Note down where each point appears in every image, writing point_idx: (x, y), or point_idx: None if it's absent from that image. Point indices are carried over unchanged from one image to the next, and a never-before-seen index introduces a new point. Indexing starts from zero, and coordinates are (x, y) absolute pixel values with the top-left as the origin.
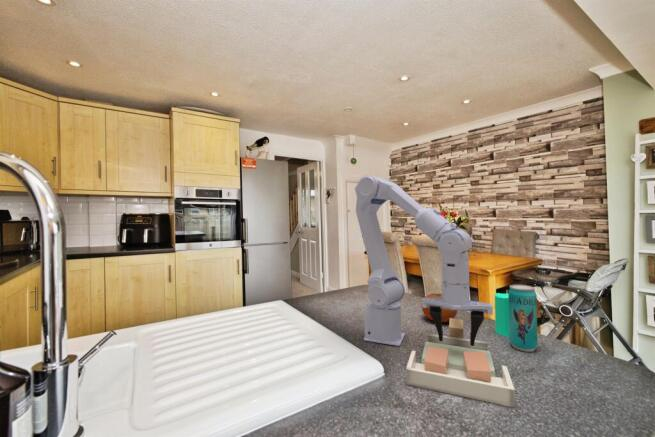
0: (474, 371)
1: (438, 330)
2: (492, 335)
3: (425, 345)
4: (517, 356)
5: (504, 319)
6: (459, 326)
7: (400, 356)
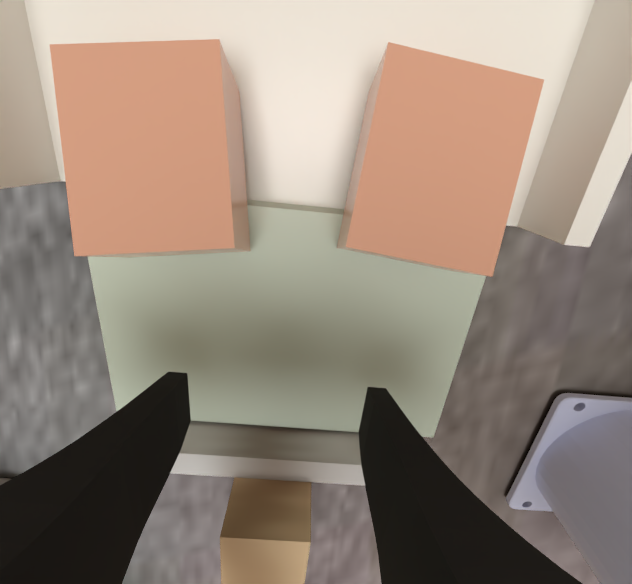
0: (174, 44)
1: (418, 440)
2: (132, 566)
3: (443, 395)
4: (27, 433)
5: None
6: (244, 562)
7: (575, 295)
